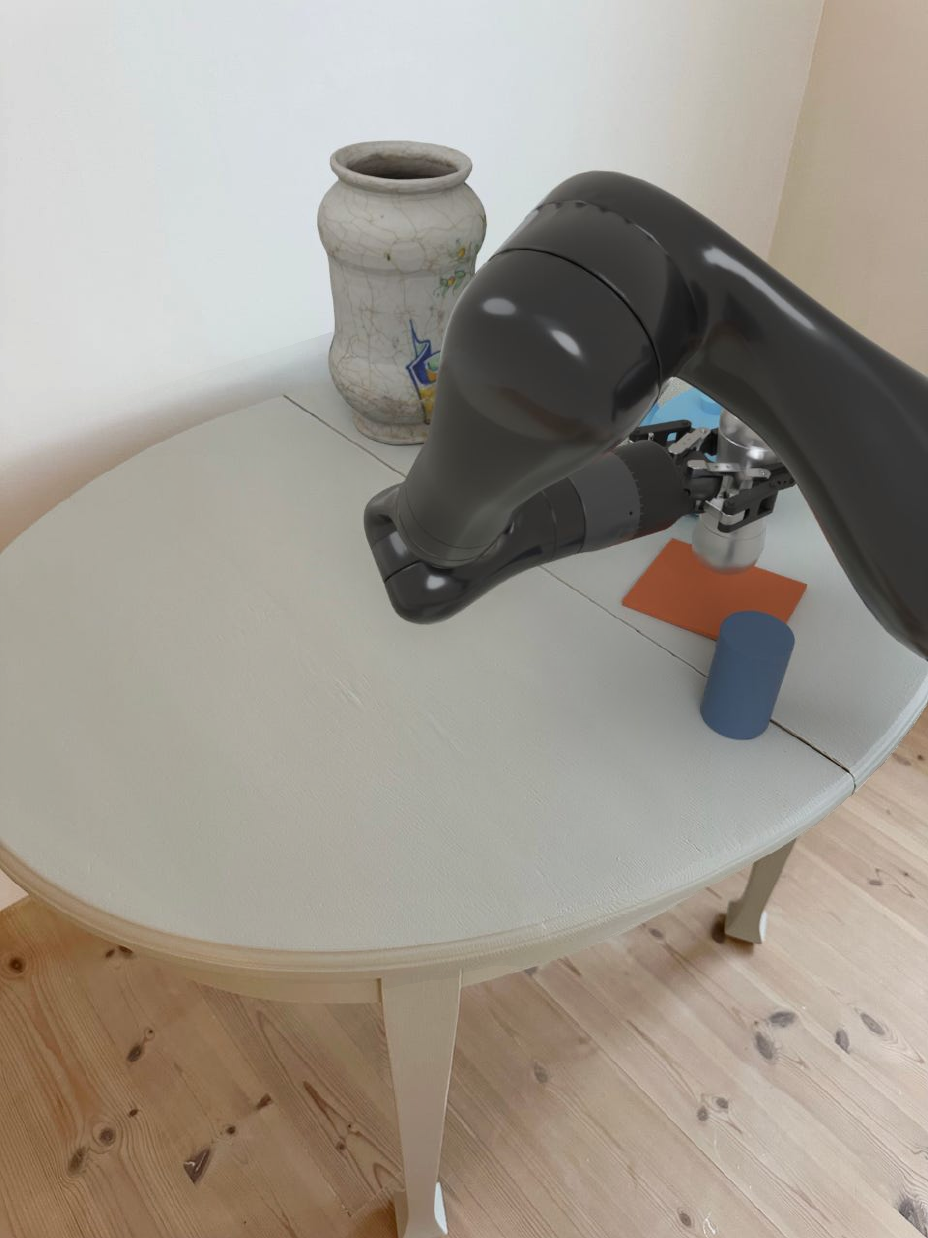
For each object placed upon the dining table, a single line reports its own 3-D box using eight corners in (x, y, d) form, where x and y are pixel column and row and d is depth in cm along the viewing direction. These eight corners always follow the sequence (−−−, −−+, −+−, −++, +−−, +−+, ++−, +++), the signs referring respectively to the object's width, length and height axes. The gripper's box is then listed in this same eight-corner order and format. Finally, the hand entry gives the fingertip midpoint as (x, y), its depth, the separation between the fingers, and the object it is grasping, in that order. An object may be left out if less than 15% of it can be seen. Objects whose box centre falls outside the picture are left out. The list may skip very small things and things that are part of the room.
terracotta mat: (806, 589, 92) (807, 584, 92) (765, 659, 85) (767, 654, 84) (671, 542, 98) (671, 537, 98) (621, 604, 90) (622, 599, 90)
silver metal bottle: (687, 579, 86) (735, 373, 73) (686, 536, 91) (731, 337, 78) (759, 588, 85) (821, 382, 73) (754, 545, 91) (811, 345, 78)
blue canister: (777, 707, 80) (804, 626, 74) (755, 750, 76) (781, 668, 71) (714, 682, 82) (735, 601, 76) (690, 722, 79) (709, 640, 73)
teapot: (649, 436, 114) (664, 345, 107) (784, 494, 105) (811, 399, 98) (586, 475, 107) (597, 381, 100) (725, 541, 98) (748, 443, 91)
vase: (507, 410, 119) (521, 150, 99) (427, 474, 107) (425, 193, 88) (389, 373, 126) (380, 123, 106) (302, 430, 114) (274, 161, 95)
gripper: (671, 503, 69) (843, 451, 75) (564, 416, 78) (724, 376, 85) (655, 585, 74) (817, 530, 80) (556, 493, 83) (707, 451, 89)
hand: (768, 451), depth 82 cm, fingers closed on silver metal bottle, 6 cm apart
